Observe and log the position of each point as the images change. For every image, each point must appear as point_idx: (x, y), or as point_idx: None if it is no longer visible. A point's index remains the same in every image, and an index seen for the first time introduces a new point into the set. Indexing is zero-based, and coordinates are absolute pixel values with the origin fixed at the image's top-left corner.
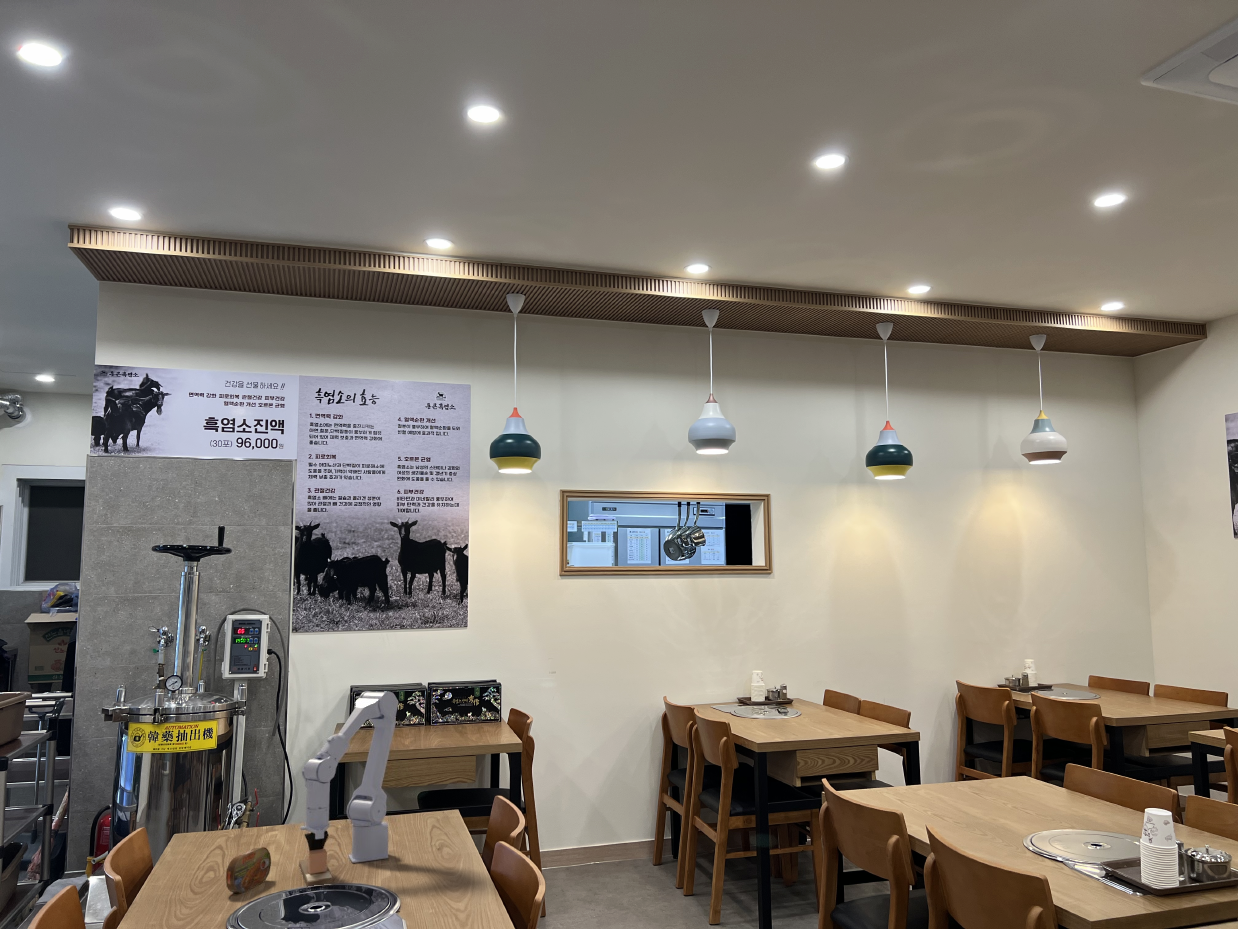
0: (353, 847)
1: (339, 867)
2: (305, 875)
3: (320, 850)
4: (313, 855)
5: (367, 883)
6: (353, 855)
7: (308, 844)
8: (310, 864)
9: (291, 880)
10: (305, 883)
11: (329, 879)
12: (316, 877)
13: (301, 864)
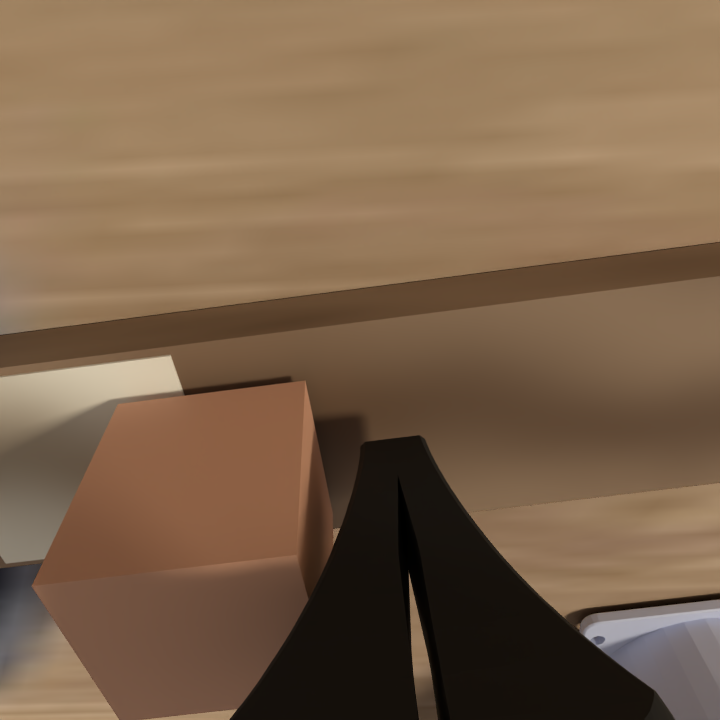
0: (717, 713)
1: (541, 543)
2: (134, 355)
3: (254, 669)
4: (56, 601)
5: (14, 684)
6: (679, 650)
7: (330, 642)
8: (85, 482)
9: (275, 169)
10: (82, 325)
11: None
12: (12, 457)
13: (677, 288)
